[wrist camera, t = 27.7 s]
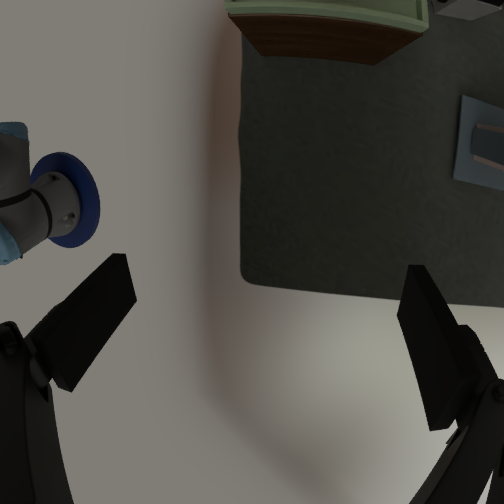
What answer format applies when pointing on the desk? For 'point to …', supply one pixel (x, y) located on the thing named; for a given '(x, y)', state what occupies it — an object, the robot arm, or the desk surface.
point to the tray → (344, 10)
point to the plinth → (322, 37)
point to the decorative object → (466, 8)
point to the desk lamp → (480, 144)
